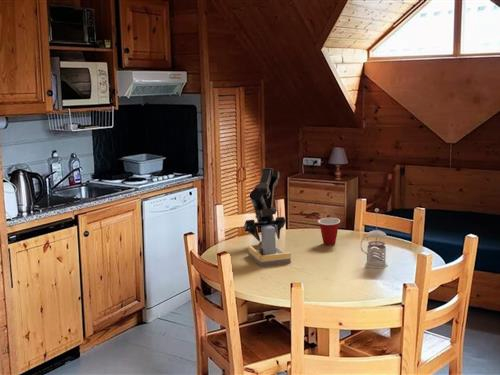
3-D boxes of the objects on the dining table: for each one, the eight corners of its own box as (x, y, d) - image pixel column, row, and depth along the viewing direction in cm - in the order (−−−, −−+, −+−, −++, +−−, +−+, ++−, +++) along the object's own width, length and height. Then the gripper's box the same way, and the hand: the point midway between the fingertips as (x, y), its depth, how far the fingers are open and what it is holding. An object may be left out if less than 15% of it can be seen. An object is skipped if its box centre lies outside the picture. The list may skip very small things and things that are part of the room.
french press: (388, 268, 249) (389, 211, 245) (360, 267, 252) (360, 210, 247) (387, 261, 259) (388, 206, 254) (360, 261, 261) (361, 205, 257)
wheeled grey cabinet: (258, 254, 269) (257, 226, 266) (274, 252, 271) (273, 224, 268) (264, 259, 261) (263, 230, 258) (280, 257, 263) (279, 229, 260)
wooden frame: (248, 255, 274) (248, 246, 273) (277, 252, 278) (277, 242, 277) (260, 266, 257) (260, 256, 256) (290, 262, 261) (290, 253, 260)
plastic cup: (314, 245, 288) (314, 221, 286) (322, 240, 297) (322, 216, 295) (335, 247, 283) (335, 223, 281) (343, 242, 292) (343, 218, 290)
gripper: (244, 202, 263) (252, 232, 255) (284, 199, 269) (293, 228, 260) (240, 216, 272) (248, 245, 264) (278, 212, 277) (287, 241, 269)
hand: (269, 239), depth 264 cm, fingers open, 9 cm apart
